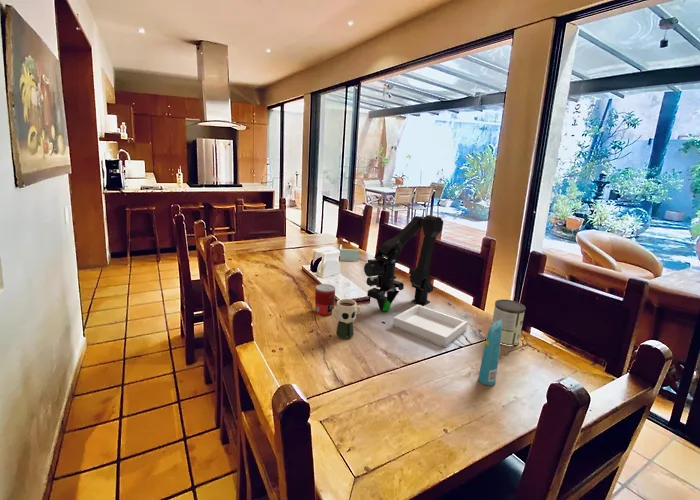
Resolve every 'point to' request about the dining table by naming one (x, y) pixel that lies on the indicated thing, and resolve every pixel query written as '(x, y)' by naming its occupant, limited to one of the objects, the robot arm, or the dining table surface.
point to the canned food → (324, 299)
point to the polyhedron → (386, 306)
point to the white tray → (430, 325)
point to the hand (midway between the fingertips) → (384, 308)
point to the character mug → (345, 317)
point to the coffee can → (509, 320)
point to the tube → (491, 355)
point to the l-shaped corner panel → (349, 254)
